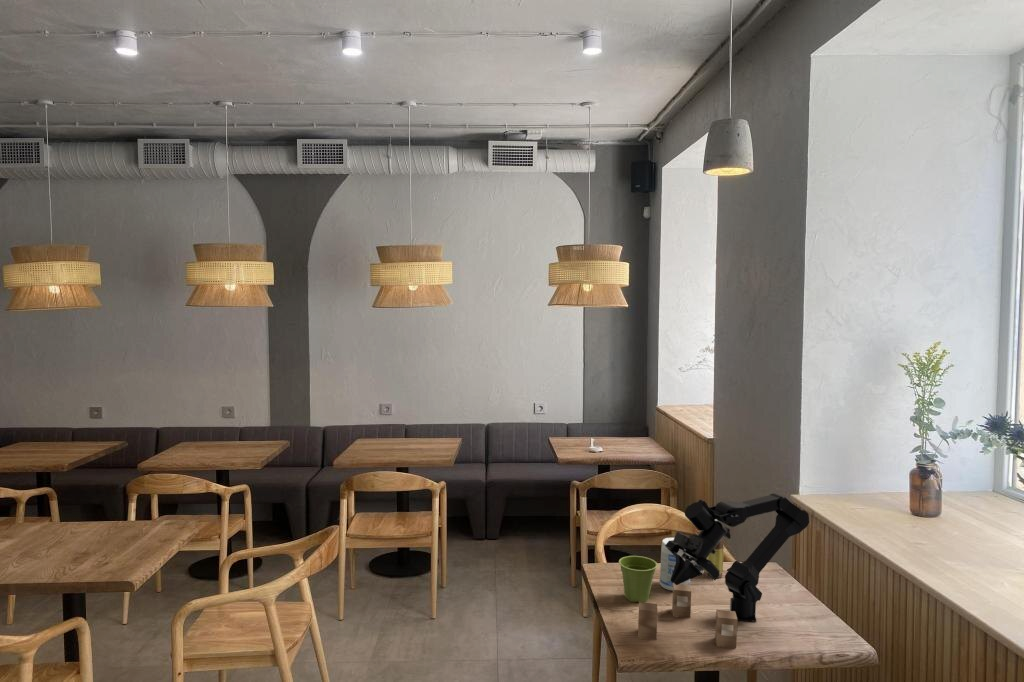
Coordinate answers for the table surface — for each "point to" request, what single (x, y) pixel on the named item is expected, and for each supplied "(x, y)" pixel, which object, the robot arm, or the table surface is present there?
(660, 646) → the table surface
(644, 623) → the plain block
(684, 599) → the marked block
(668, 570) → the supplement tub
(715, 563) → the sauce bottle
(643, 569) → the plant pot
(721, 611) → the marked block
